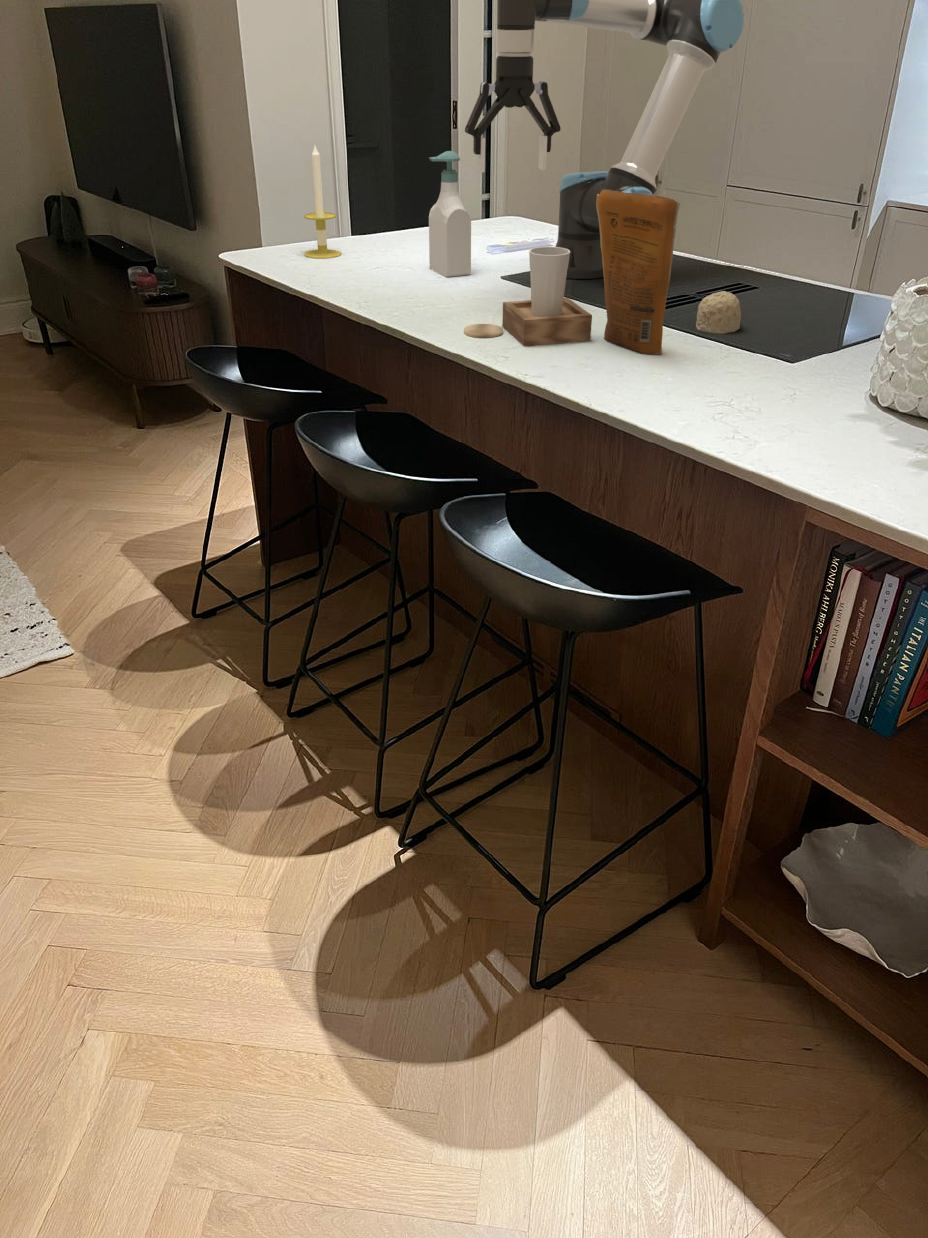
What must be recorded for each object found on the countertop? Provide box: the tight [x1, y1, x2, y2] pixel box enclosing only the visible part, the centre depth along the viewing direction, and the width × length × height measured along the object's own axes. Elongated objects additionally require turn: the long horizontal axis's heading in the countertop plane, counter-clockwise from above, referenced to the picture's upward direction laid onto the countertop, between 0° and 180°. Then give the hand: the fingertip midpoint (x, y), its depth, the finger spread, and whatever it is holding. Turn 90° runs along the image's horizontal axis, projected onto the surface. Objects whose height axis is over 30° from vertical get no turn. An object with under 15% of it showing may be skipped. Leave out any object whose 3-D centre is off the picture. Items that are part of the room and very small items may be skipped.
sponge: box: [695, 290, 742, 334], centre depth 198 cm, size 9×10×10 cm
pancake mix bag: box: [596, 190, 681, 355], centre depth 182 cm, size 7×19×28 cm, turn 34°
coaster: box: [463, 323, 504, 339], centre depth 196 cm, size 8×8×1 cm
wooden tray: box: [501, 297, 593, 347], centre depth 195 cm, size 14×14×5 cm
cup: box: [528, 246, 570, 317], centre depth 191 cm, size 8×8×12 cm
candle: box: [303, 142, 342, 260], centre depth 250 cm, size 10×10×27 cm
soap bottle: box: [428, 150, 472, 278], centre depth 233 cm, size 11×8×27 cm
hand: (511, 170), depth 205 cm, fingers open, 13 cm apart
